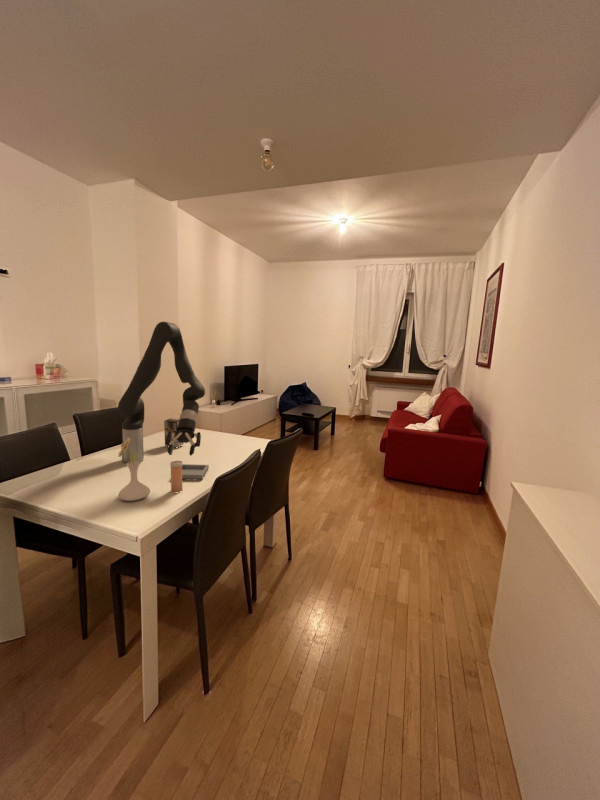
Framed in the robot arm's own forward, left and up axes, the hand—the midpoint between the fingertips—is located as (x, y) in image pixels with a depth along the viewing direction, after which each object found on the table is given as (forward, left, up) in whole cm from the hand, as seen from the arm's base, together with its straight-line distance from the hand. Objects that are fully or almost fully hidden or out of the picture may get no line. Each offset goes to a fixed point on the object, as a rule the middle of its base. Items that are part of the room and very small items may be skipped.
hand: (180, 454), depth 138 cm
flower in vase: (-14, -12, -14) cm, 23 cm away
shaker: (0, -4, -14) cm, 15 cm away
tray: (+1, +14, -14) cm, 20 cm away
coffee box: (-21, +57, -14) cm, 62 cm away
